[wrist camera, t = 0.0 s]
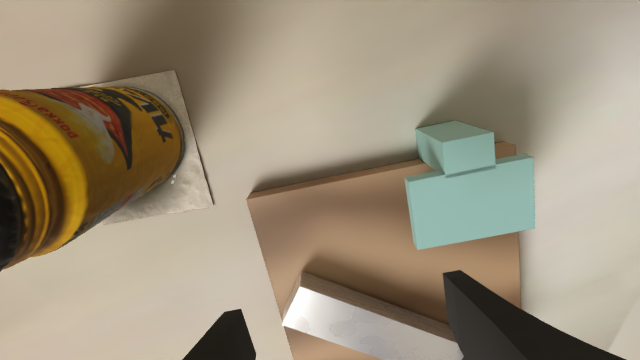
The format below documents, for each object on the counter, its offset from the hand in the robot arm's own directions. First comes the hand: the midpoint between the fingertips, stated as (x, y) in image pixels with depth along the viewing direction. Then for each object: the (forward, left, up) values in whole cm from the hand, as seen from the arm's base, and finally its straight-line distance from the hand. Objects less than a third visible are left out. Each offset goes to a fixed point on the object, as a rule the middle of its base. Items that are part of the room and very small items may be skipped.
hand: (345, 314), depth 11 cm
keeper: (+1, -7, -10) cm, 12 cm away
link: (-9, -2, -9) cm, 13 cm away
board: (-8, -3, -10) cm, 13 cm away
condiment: (+6, +11, -10) cm, 16 cm away
